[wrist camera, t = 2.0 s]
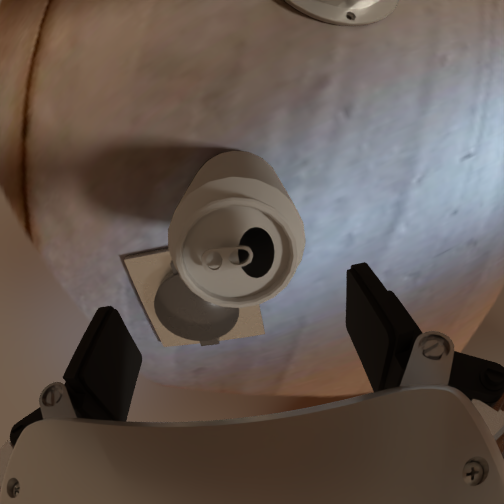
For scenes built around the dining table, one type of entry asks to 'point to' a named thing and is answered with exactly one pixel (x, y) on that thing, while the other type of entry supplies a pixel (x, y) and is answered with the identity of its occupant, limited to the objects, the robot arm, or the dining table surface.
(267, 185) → the can
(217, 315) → the white flat square plate
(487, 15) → the dining table surface
